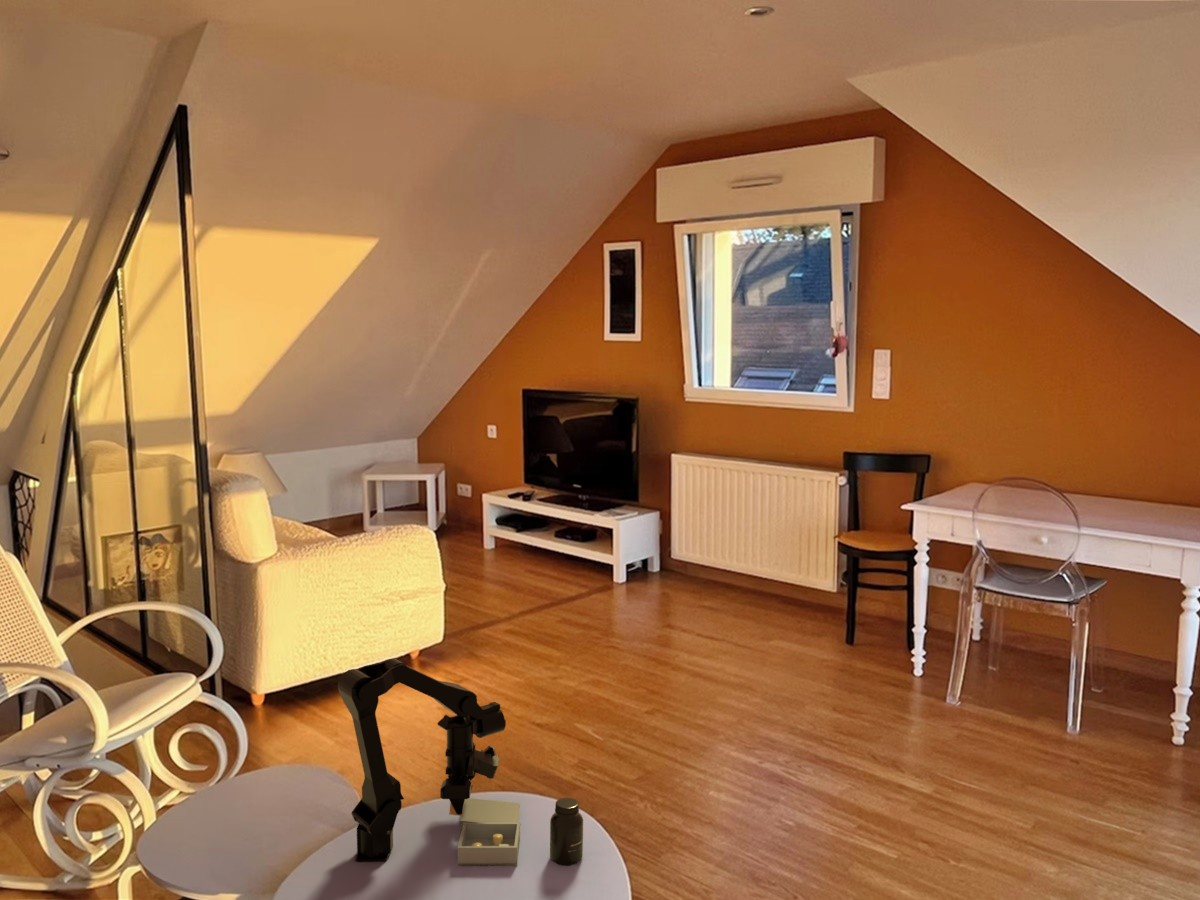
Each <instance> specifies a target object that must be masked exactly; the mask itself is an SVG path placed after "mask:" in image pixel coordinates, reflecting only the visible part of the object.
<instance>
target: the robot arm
mask: <svg viewBox="0 0 1200 900" xmlns="http://www.w3.org/2000/svg"><path fill="white" fill-rule="evenodd" d="M397 684H402V685H403V686H406V687H408V688H411V689H413V690H415V691H417V692H419V693H421V694H423V695H426V696H428V697H430V698H432V699H434V700H435V701H436V703H439V704H440V706H442V707H443V708H445V709H446V710H448V711H450V712H452V713H453V714H454V715H452V716H449V715H447V714H444V715H443V717H442V718H441V719H440V720H438V722H437V726H438V727H440V728H442V729H443V730H445V731H446V748H445V749H446V750H445V753H444V755H445V757H446V768H445V775H447V778H445V780H443V781H442V783H441V785H440V786H441V787H440V788H439V789H440V795H439V796H440V799H441V800H449V803H451V804H452V806H453V808H454V810H455V812H456V814H458V815H457V816H460V815H461V814H462V811H463V805H464V803H465V799H468V798H471V795H472V790H473V786H474V785H473V784H472V782H471V781H472V780H473V779H474V778H475V776H476V774H478V775H480V776H481V775H482V776H484V777H486V778H487V779H494V777H495V774H496V773H497V770H498V767H499V763H500V758H499V755H497V754H496V747H494V746H492V745H488V746H486V748H484V749H481V750H477V749H476V748H477V747H476V744H475V742H474V735H475V737H476V738H478V739H482V738H484V737H488V736H491V735H496V734H499V733H502V732H503V731H504V730H505V729H506V724H507V722H506V719H505V715H504V713H503V711H502V709H501V704H500V703H498V702H496V701H493V702H489V703H488V704H484V705H481V706H480V704H479V703H478V698H477V697H478V696H477V694H476V693H475V692H473V691H472V690H469V689H468V688H466V687H464V686H462V685H460V684H458V683H454V682H450V681H441V680H439V679H436V678H434V677H431V676H429V675H427V674H425V673H423V672H421V671H418V670H417V669H415V668H413V667H410V666H408V665H406V663H404V662H402V661H400V660H398V659H396V658H389V659H386V660H384V661H381V662H378V663H372V664H369V665H368V664H367V665H364V666H361V667H359V668H357V669H356V668H353V669H352V668H351V669H348V670H347V671H345V672H344V673H343V674H342V675H341V676H340V678H339V679H338V681H337V690H338V692H339V695H340V696H341V700H342V702H343V703H344V705H345V707H346V708H347V710H348V711H349V713H350V716H351V718H352V723H353V727H354V732H355V736H356V741H357V746H358V750H359V755H360V760H361V765H362V768H363V769H362V770H363V773H364V774H363V775H364V779H363V783H362V786H361V799H360V800H359V802H358V803H357V804H356V805H355V807H354V808H353V809H352V812H351V816H352V819H353V821H354V822H357V824H358V825H357V827H356V855H355V857H354V861H355V862H386V861H387V860H388V858H389V855H390V854H391V853H392V851H393V848H394V834H393V833H394V830H393V829H394V826H395V824H396V821H397V817H398V814H399V812H400V811H401V810H402V800H403V801H404V799H405V797H404V796H403V794H402V791H401V790H402V789H401V782H400V781H399V779H397V778H396V777H394V776H393V775H391V774H390V772H388V769H387V764H386V759H385V755H384V749H383V745H382V744H383V743H382V739H381V735H380V730H379V726H378V721H377V716H376V714H377V713H376V712H377V708H378V705H379V697H380V696H383V695H385V694H386V693H388V692H389V691H390V690H391V689H392V688H393V687H394V686H395V685H397Z"/></svg>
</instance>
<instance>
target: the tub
mask: <svg viewBox="0 0 1200 900" xmlns="http://www.w3.org/2000/svg"><path fill="white" fill-rule="evenodd" d="M457 845H458V846H457V867H517V866H518V860H519V853H520V845H521V822H518V823H463V825H462V829H461V832H460V835H459V841H458V844H457Z"/></svg>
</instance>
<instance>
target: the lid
mask: <svg viewBox="0 0 1200 900" xmlns="http://www.w3.org/2000/svg"><path fill="white" fill-rule="evenodd" d="M449 803H450V804H449V805H450V806H449V816H450V815H452V816H460V822H459V825H462V826H463V823H519V816H520V808H521V802H511V801H502V800H491V799H482V798H473V797H470V798H468V799H465V802H464V805H463V811H462V814H461V815H458V814H456V812H455V810H454V808H453V806H452V804H451V802H449Z"/></svg>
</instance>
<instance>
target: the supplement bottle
mask: <svg viewBox="0 0 1200 900" xmlns="http://www.w3.org/2000/svg"><path fill="white" fill-rule="evenodd" d="M549 821H550V822H549V831H550V832H549V857H550V858H549V859H550V860H551V861H552V862H553V864H556V865H557V866H561V867H562V866H563V867H570V866H574V865H576V864H578V863H580V862H581V861H582V859H583V855H584V854H583V853H584V852H583V851H584V850H583V849H584V817H583V816H582V815H581V813H580V803H579V801H578V800H577V799H576V798H572V797H563V798H559V799H557V800H556V801H555V808H554V813H553V814H552V816H551V817H550V820H549Z"/></svg>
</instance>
